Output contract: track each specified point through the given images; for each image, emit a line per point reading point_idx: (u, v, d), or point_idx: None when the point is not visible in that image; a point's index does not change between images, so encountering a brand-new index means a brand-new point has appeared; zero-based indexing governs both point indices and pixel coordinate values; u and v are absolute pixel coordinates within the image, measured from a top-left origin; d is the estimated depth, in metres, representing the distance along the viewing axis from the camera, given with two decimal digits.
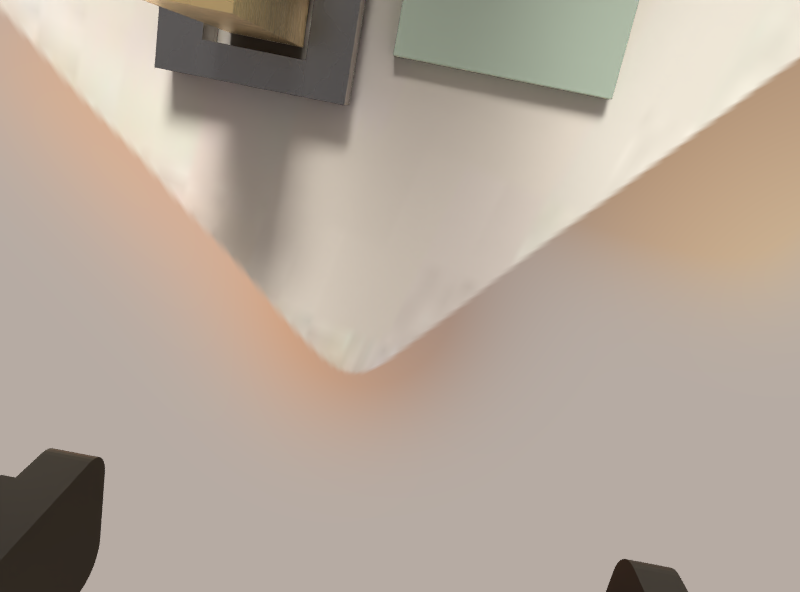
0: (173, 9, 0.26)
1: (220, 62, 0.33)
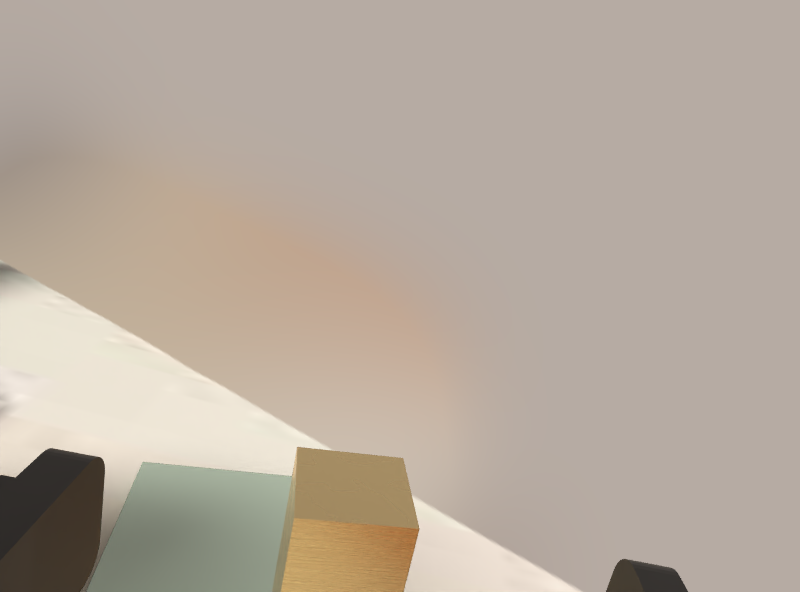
0: None
1: None
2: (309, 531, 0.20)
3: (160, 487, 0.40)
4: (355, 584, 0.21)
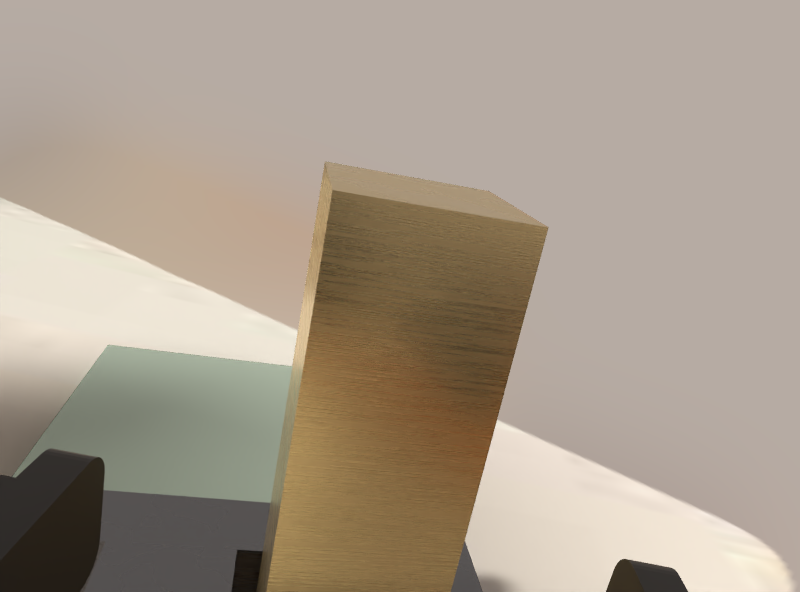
0: None
1: None
2: (359, 220, 0.11)
3: (129, 369, 0.31)
4: (435, 335, 0.12)
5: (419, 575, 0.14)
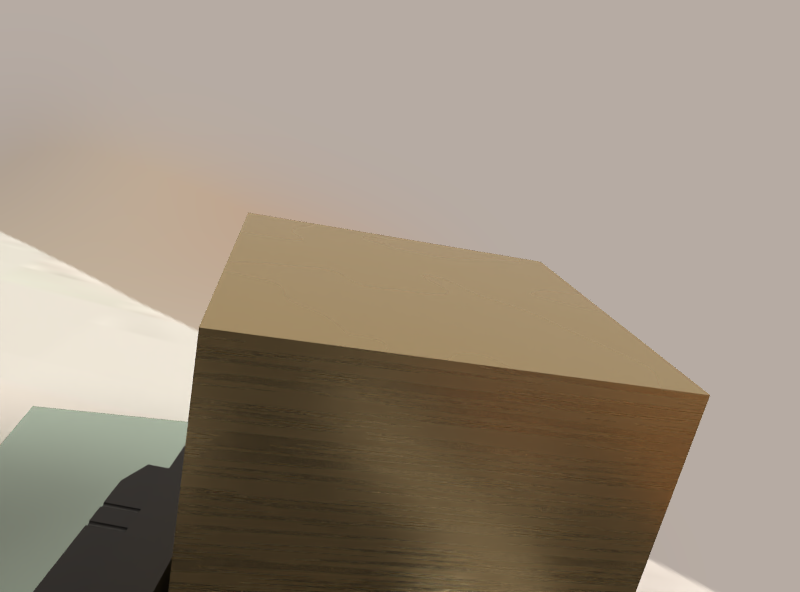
0: None
1: None
2: (272, 394, 0.05)
3: (53, 442, 0.24)
4: None
5: None
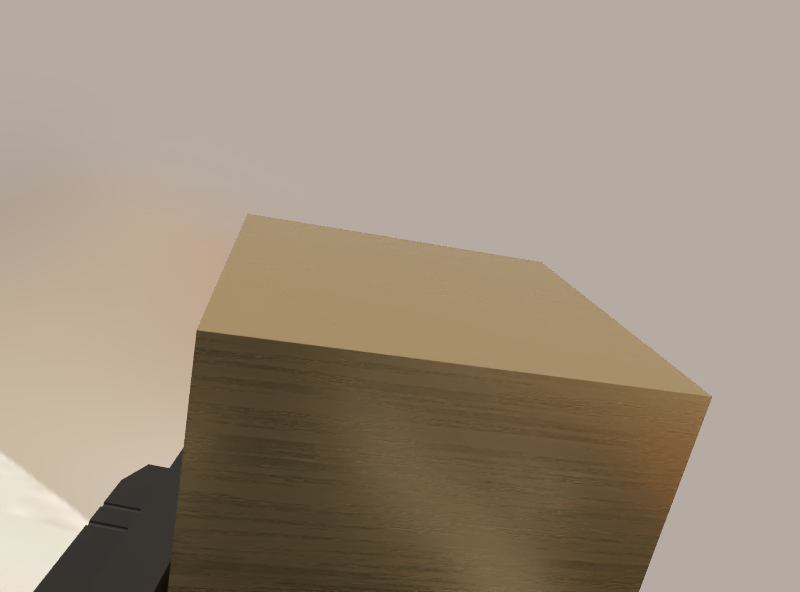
0: None
1: None
2: (269, 396, 0.05)
3: None
4: None
5: None
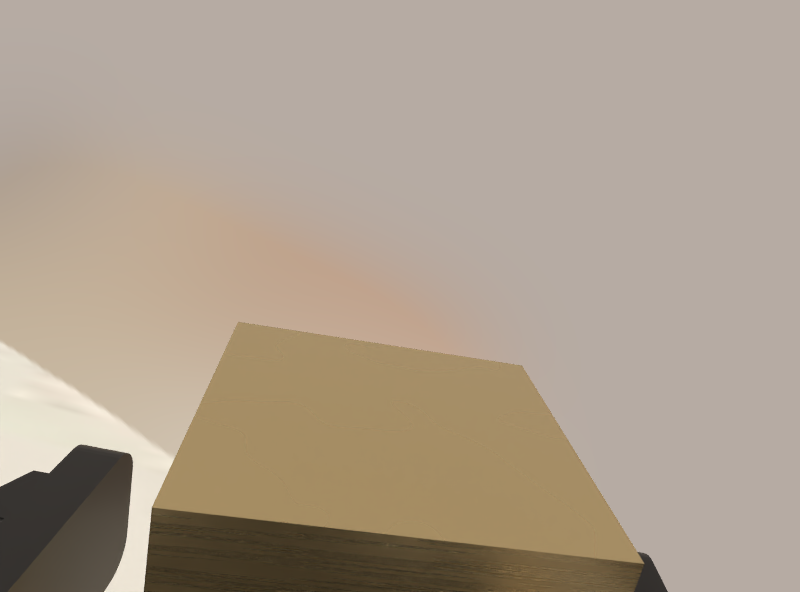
0: None
1: None
2: (220, 563, 0.05)
3: None
4: None
5: None
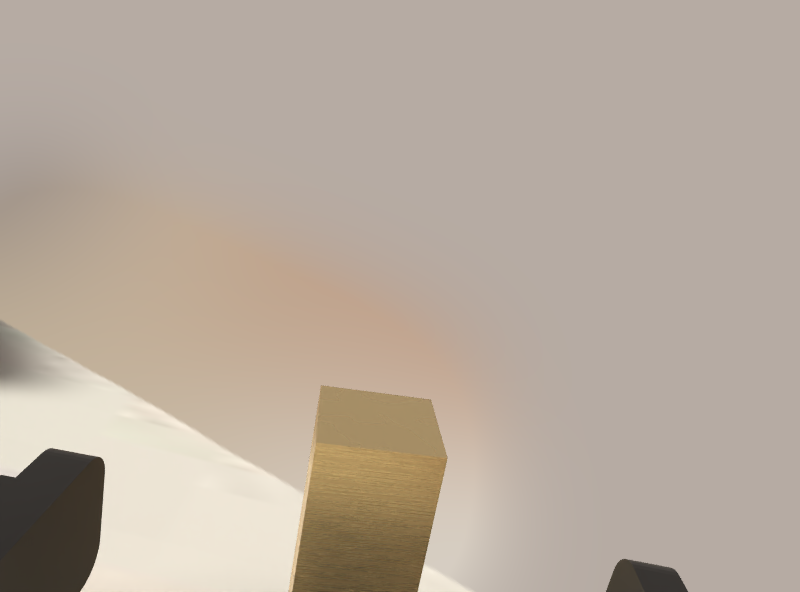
0: None
1: None
2: (332, 458, 0.19)
3: None
4: (380, 519, 0.20)
5: None
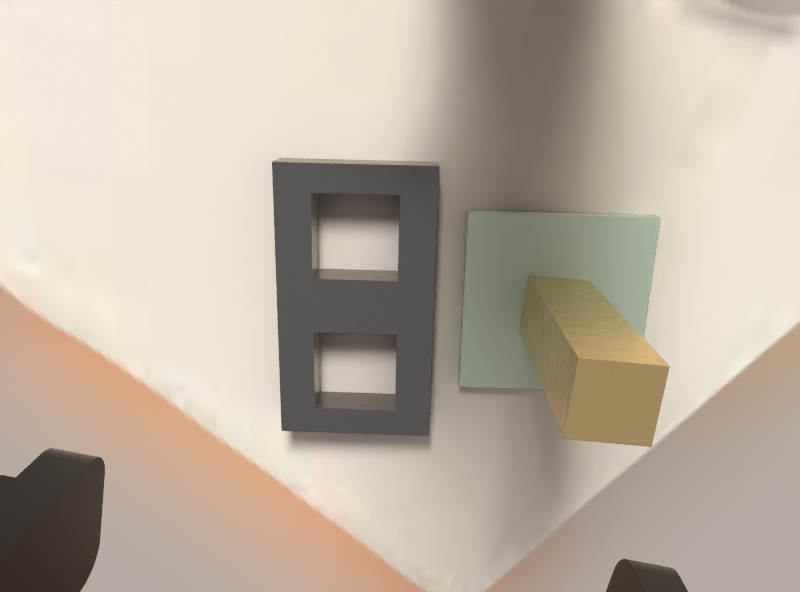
0: None
1: (330, 420, 0.43)
2: (574, 365, 0.29)
3: (617, 242, 0.41)
4: (558, 383, 0.31)
5: (536, 356, 0.37)
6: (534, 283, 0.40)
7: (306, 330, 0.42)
